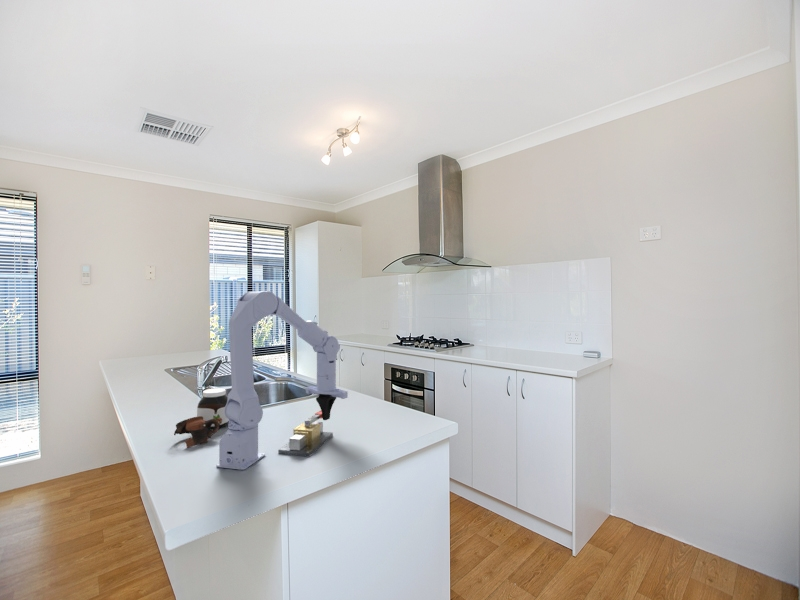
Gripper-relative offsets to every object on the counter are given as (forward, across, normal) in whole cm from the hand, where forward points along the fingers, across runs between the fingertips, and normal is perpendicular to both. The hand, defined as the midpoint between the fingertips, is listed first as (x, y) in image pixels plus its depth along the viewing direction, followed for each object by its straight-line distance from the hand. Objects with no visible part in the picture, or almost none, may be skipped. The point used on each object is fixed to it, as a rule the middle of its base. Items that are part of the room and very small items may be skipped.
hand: (326, 419), depth 119 cm
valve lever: (0, +1, +4) cm, 4 cm away
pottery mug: (+5, +30, +21) cm, 38 cm away
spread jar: (+5, +39, +8) cm, 40 cm away
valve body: (+5, 0, +8) cm, 10 cm away
